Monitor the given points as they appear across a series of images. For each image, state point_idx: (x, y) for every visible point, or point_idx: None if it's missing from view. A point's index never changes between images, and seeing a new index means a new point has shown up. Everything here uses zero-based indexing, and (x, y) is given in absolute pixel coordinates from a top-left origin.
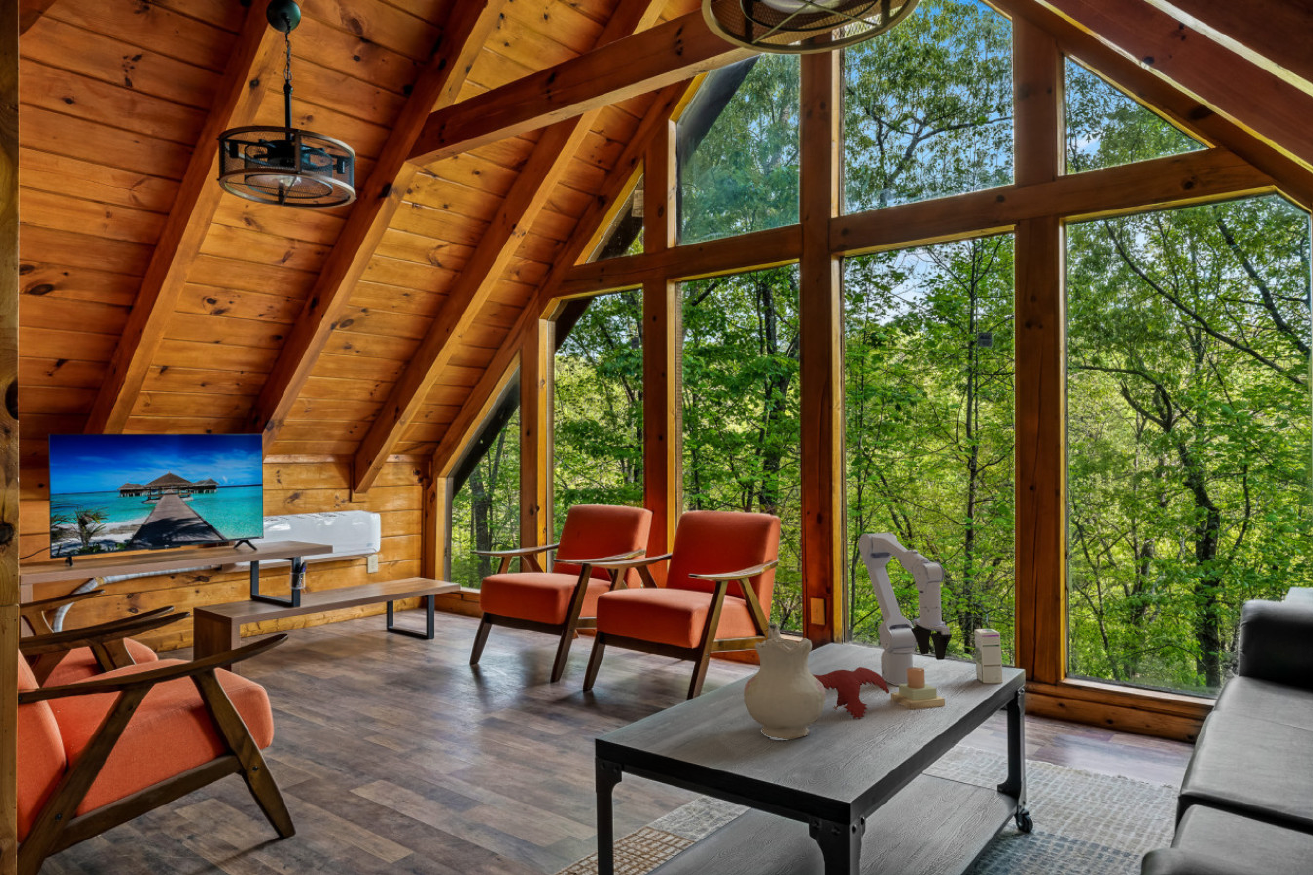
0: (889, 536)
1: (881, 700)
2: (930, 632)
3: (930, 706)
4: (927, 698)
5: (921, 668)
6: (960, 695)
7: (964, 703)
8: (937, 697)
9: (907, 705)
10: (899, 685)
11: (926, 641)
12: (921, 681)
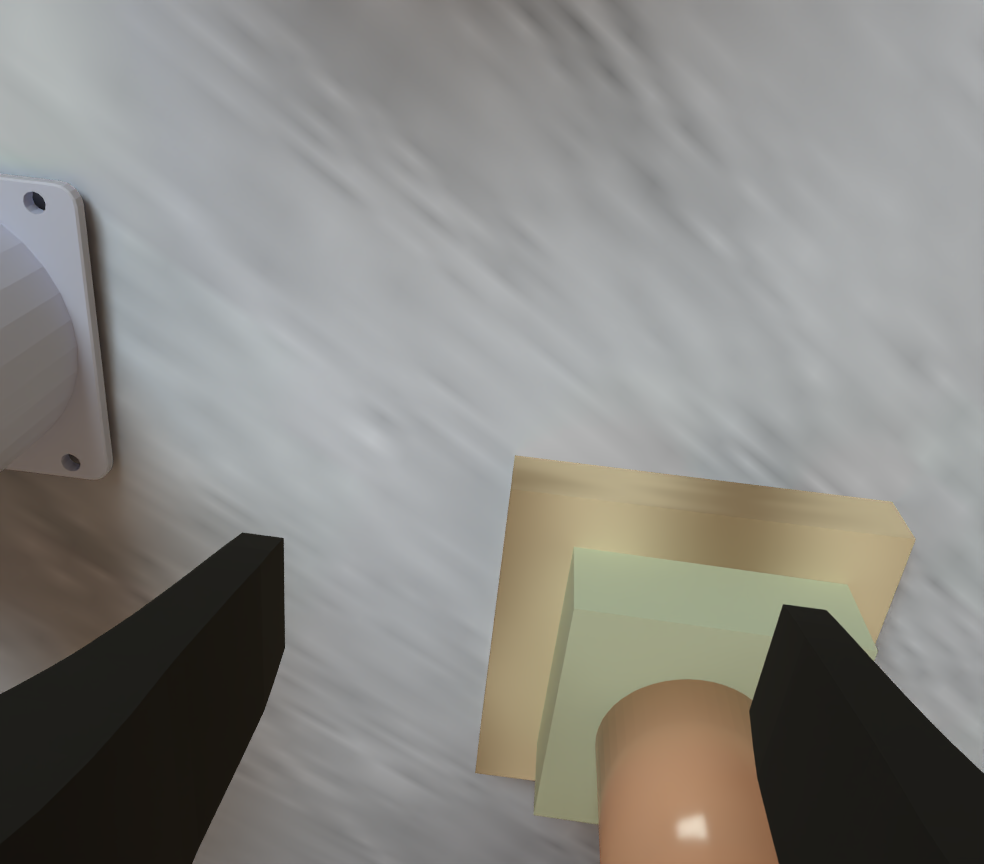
0: None
1: (475, 792)
2: (32, 831)
3: None
4: None
5: (718, 850)
6: (717, 101)
7: (980, 298)
8: (834, 565)
9: None
10: (549, 812)
11: (175, 731)
12: None
